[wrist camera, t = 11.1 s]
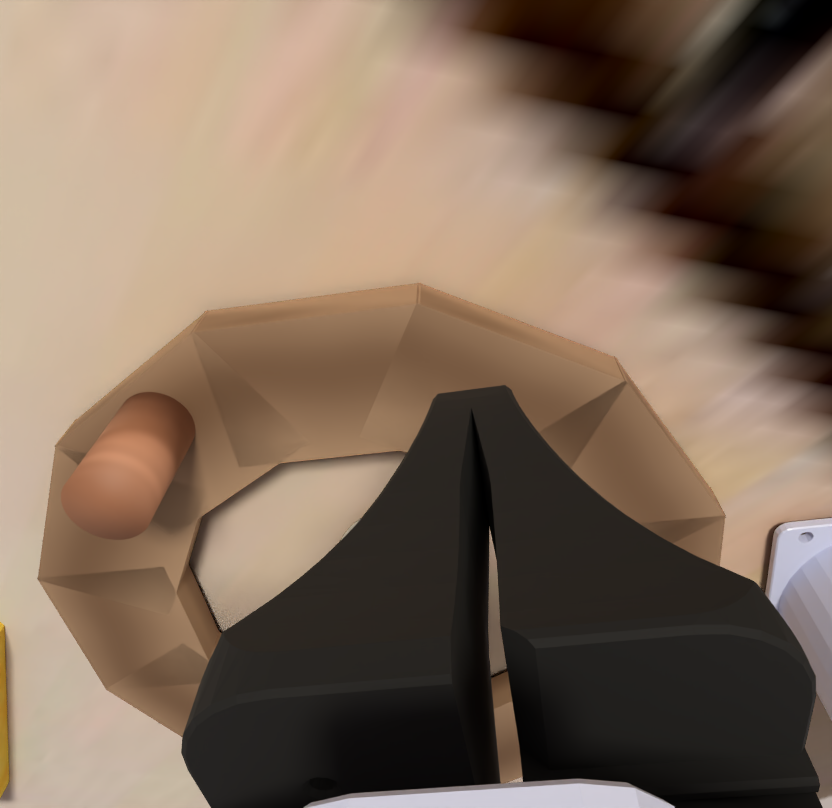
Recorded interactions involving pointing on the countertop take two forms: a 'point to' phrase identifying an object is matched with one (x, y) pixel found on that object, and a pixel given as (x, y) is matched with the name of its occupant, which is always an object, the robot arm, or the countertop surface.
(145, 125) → the countertop surface
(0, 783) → the dish sponge
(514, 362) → the faceted tan ring
